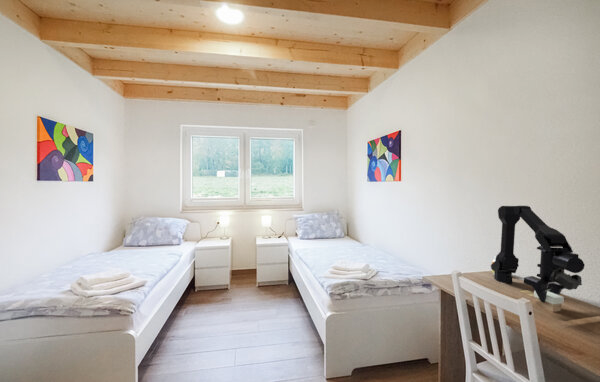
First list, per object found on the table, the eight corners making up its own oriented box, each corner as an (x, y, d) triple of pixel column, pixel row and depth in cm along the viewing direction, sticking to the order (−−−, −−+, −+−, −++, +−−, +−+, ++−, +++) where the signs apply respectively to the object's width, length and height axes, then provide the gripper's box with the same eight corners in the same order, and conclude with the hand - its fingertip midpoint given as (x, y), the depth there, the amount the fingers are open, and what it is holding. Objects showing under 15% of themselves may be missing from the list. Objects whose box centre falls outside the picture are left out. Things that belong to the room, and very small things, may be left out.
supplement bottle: (502, 278, 134) (503, 259, 133) (489, 274, 139) (490, 256, 138) (506, 276, 137) (506, 257, 136) (493, 272, 142) (494, 254, 141)
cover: (533, 296, 104) (534, 290, 104) (543, 295, 105) (543, 289, 105) (553, 304, 97) (553, 298, 97) (563, 303, 98) (563, 297, 98)
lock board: (507, 295, 114) (507, 285, 114) (529, 292, 117) (530, 283, 117) (551, 315, 98) (552, 303, 97) (576, 311, 100) (576, 300, 100)
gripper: (556, 272, 90) (554, 314, 91) (594, 269, 94) (592, 309, 95) (523, 262, 101) (521, 300, 102) (558, 259, 105) (556, 296, 106)
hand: (548, 301), depth 101 cm, fingers closed on cover, 5 cm apart
